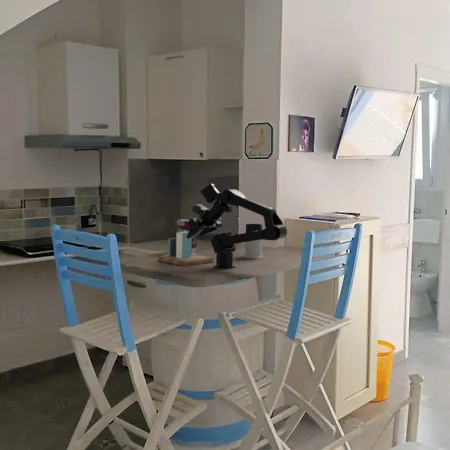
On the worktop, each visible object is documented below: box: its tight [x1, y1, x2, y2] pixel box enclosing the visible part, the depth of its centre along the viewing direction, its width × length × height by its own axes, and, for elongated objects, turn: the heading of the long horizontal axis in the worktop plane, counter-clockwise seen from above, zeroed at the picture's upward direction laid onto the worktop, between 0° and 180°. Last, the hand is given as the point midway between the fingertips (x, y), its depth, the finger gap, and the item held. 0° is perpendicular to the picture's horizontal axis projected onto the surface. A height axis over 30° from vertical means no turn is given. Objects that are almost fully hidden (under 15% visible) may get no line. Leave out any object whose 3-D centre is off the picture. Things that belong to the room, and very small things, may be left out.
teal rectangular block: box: [175, 231, 192, 259], centre depth 256 cm, size 4×7×11 cm, turn 149°
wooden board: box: [157, 253, 214, 267], centre depth 259 cm, size 18×16×2 cm
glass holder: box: [243, 223, 264, 259], centre depth 277 cm, size 9×14×15 cm, turn 19°
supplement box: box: [176, 219, 198, 255], centre depth 281 cm, size 9×5×16 cm, turn 62°
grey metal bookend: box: [162, 237, 176, 257], centre depth 263 cm, size 5×12×8 cm, turn 134°
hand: (193, 236), depth 253 cm, fingers open, 9 cm apart
